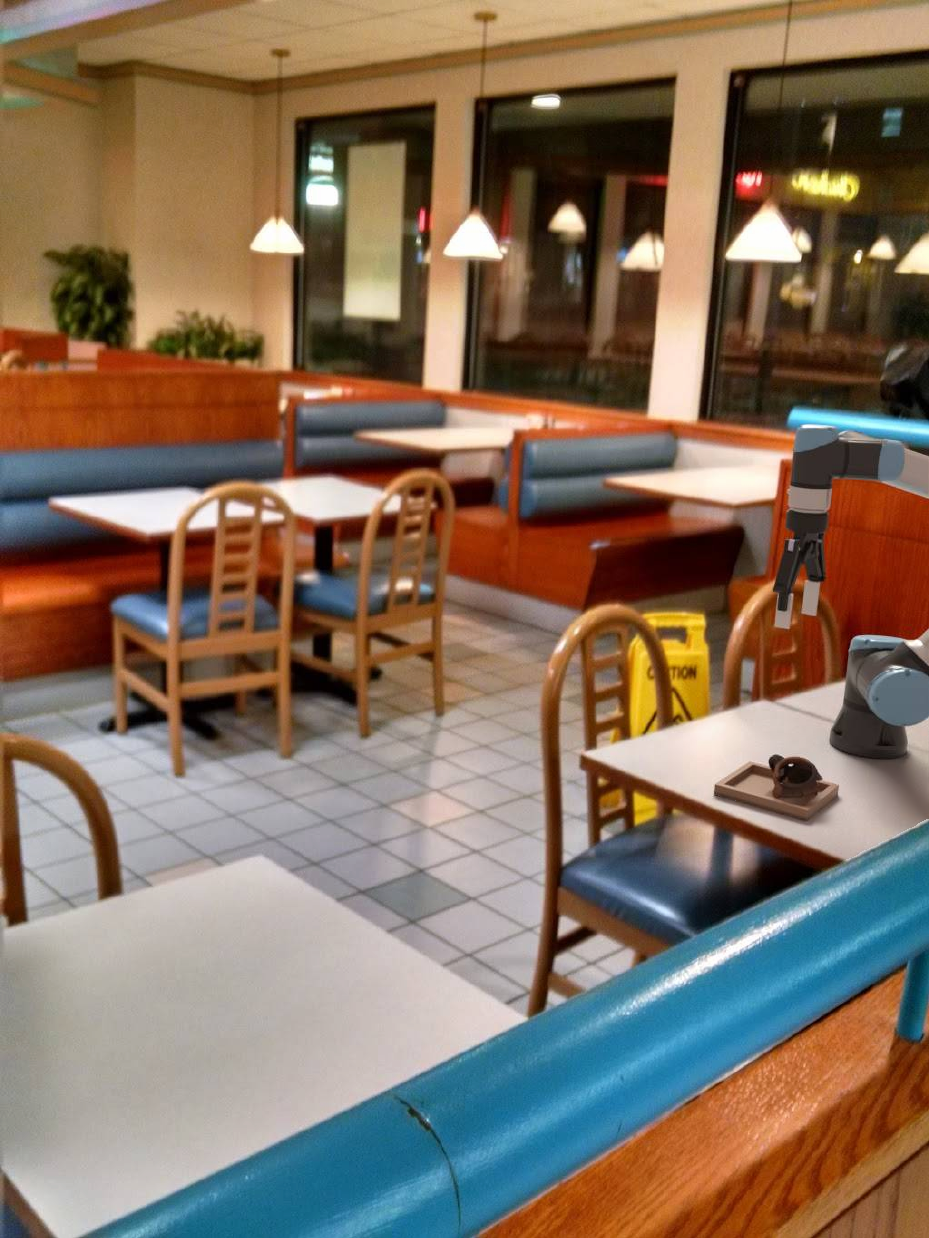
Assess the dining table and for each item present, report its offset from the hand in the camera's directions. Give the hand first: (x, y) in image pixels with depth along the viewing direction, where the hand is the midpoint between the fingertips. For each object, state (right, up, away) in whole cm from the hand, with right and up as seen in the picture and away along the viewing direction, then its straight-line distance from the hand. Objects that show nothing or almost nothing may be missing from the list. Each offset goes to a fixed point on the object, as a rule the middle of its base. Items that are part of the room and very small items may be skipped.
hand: (795, 621), depth 229 cm
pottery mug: (-3, -32, -10) cm, 33 cm away
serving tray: (-6, -32, -9) cm, 33 cm away
